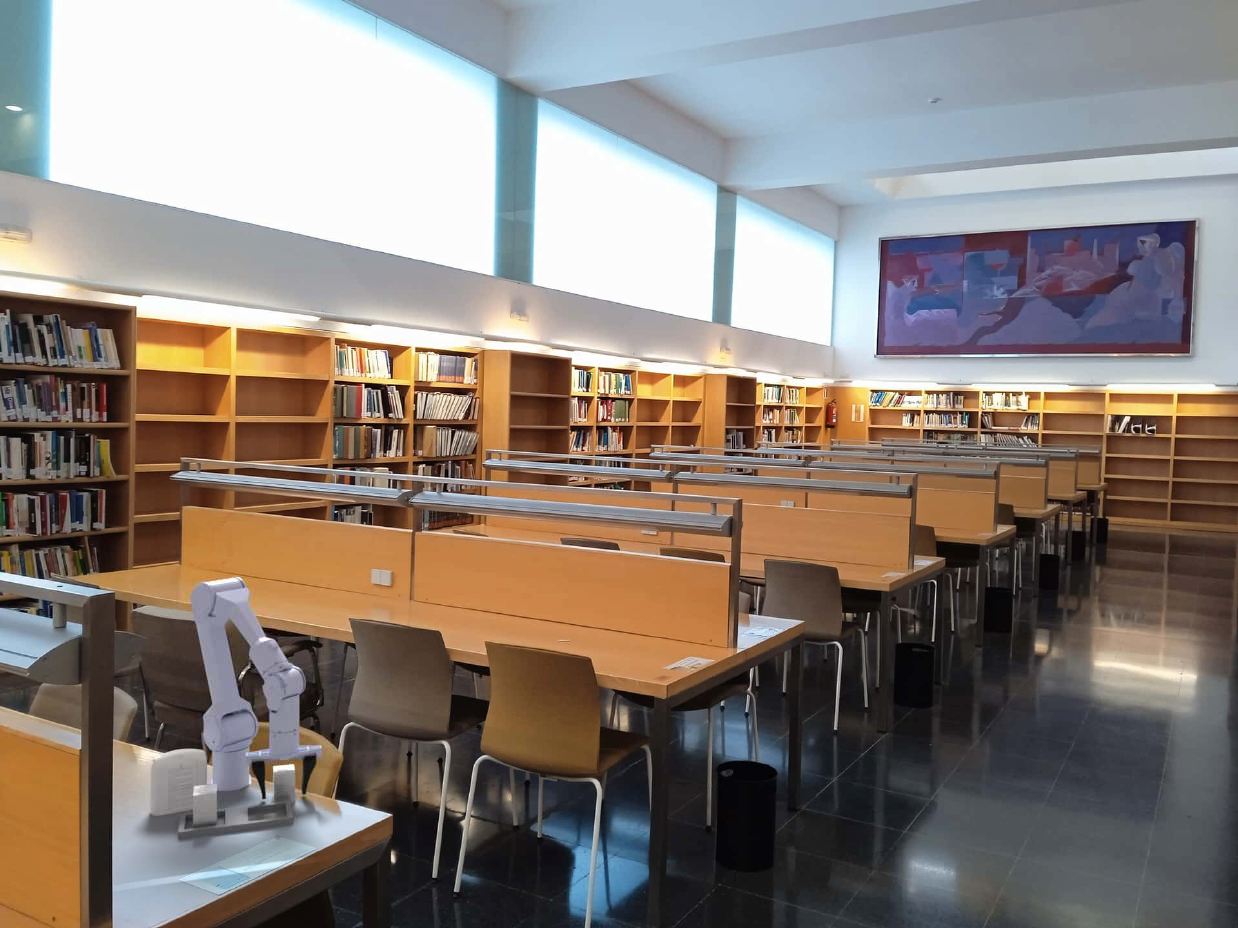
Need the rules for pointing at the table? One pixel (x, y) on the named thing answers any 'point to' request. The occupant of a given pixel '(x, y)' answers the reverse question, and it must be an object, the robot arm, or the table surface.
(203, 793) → the block
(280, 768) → the block
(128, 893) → the table surface
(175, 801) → the white tombstone slab
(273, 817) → the pallet
